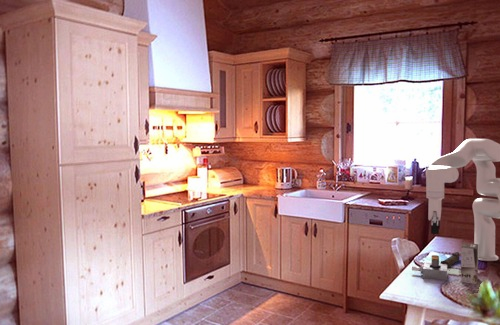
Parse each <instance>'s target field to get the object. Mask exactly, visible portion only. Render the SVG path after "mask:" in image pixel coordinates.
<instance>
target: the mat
mask: <svg viewBox="0 0 500 325" xmlns="http://www.w3.org/2000/svg"><path fill="white" fill-rule="evenodd" d="M449 270H450V271H449ZM447 275H458V276H459V275H460V269H456V268H450V267H448V268H447Z"/></svg>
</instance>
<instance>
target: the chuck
mask: <svg viewBox="0 0 500 325" xmlns="http://www.w3.org/2000/svg"><path fill="white" fill-rule="evenodd" d="M431 267H432V262H427V261H426V262H423V265H422V264H420V267H419V266H412V268H411V270H412V272H413V271H414V272H420V274H421V275H422V279H426V280H435V281H440V282H448V274H447V264H441V263H439V268H431Z"/></svg>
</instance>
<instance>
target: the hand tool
mask: <svg viewBox="0 0 500 325" xmlns="http://www.w3.org/2000/svg"><path fill="white" fill-rule="evenodd" d="M459 261H460V252H458V251H456V252H453V253H452V255H451V256H449V257H448V258H446V259H444V260H441V261H440V264H447V268H450V267H451V266H452V265H453V264H455V263H459Z"/></svg>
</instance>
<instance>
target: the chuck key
mask: <svg viewBox="0 0 500 325" xmlns="http://www.w3.org/2000/svg"><path fill="white" fill-rule="evenodd" d="M431 263H432V267H431V268H439V264H440V256H439V255H437V254H435V255H431Z"/></svg>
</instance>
